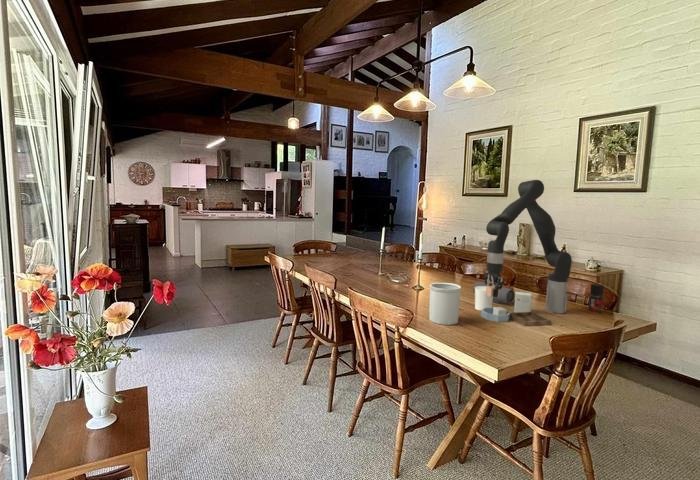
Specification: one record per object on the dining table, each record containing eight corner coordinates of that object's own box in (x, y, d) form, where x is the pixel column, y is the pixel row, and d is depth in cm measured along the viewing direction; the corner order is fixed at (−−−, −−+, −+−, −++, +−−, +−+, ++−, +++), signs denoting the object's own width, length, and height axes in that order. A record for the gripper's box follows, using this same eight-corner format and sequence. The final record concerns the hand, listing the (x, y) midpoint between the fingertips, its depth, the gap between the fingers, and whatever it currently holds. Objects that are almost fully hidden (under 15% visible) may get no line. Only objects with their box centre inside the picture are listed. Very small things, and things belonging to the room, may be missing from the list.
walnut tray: (530, 316, 195) (531, 311, 194) (550, 326, 181) (551, 320, 181) (506, 317, 192) (506, 312, 191) (524, 327, 178) (525, 322, 178)
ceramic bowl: (498, 314, 197) (499, 307, 197) (514, 322, 185) (515, 314, 184) (476, 314, 195) (477, 307, 194) (490, 323, 182) (491, 315, 182)
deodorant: (587, 311, 207) (590, 284, 205) (589, 309, 211) (592, 283, 210) (599, 313, 203) (602, 286, 201) (602, 311, 207) (604, 285, 206)
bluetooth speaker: (514, 304, 216) (516, 287, 215) (505, 307, 211) (506, 289, 210) (481, 295, 235) (482, 279, 234) (471, 297, 230) (472, 281, 229)
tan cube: (493, 294, 190) (494, 285, 190) (498, 296, 186) (499, 287, 186) (485, 294, 190) (486, 285, 189) (490, 297, 185) (491, 288, 185)
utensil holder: (421, 317, 188) (423, 283, 186) (446, 314, 194) (448, 281, 192) (439, 327, 175) (442, 290, 173) (465, 323, 181) (467, 288, 179)
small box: (530, 312, 202) (532, 293, 201) (530, 315, 197) (532, 295, 196) (514, 310, 206) (515, 291, 204) (513, 312, 200) (515, 293, 199)
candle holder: (494, 313, 199) (495, 291, 197) (474, 311, 200) (476, 289, 199) (490, 308, 208) (492, 286, 207) (472, 306, 210) (473, 285, 209)
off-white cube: (500, 315, 193) (501, 307, 192) (506, 318, 188) (506, 309, 188) (492, 315, 192) (493, 307, 191) (497, 318, 188) (498, 310, 187)
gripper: (510, 264, 180) (507, 299, 182) (493, 259, 194) (490, 291, 196) (496, 264, 178) (493, 299, 180) (480, 259, 192) (477, 291, 194)
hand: (492, 295), depth 188 cm, fingers closed on tan cube, 4 cm apart
